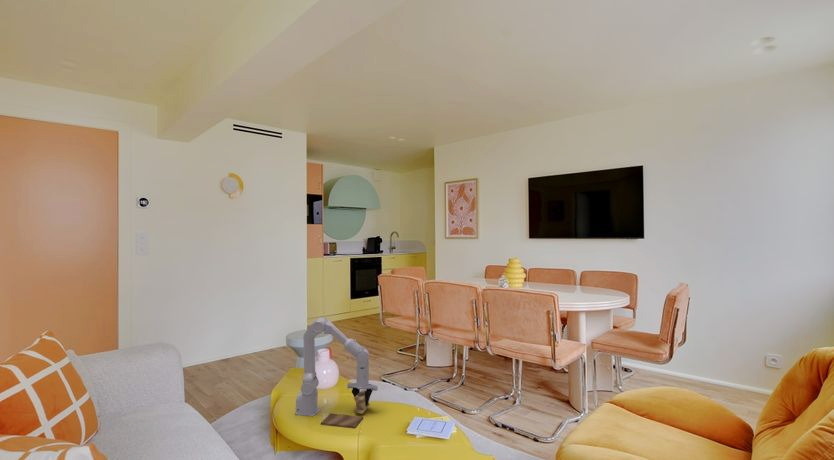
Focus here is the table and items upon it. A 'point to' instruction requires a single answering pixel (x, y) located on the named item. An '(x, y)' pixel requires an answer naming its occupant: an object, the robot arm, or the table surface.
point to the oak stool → (360, 402)
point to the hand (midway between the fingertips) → (362, 404)
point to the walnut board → (342, 420)
